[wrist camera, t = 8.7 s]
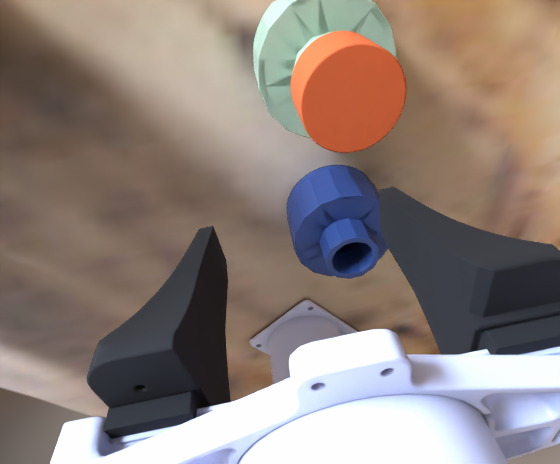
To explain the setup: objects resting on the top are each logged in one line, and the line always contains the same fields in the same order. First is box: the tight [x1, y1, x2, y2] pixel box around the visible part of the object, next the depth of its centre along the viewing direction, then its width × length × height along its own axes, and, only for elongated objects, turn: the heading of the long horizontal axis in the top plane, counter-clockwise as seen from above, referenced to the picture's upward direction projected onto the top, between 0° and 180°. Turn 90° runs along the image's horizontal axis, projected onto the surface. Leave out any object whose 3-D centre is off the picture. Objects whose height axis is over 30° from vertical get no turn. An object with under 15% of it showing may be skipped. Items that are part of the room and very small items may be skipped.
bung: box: [291, 31, 406, 153], centre depth 16 cm, size 4×4×4 cm
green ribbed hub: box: [253, 0, 397, 138], centre depth 19 cm, size 7×7×6 cm
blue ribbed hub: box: [287, 165, 388, 279], centre depth 25 cm, size 7×7×6 cm
